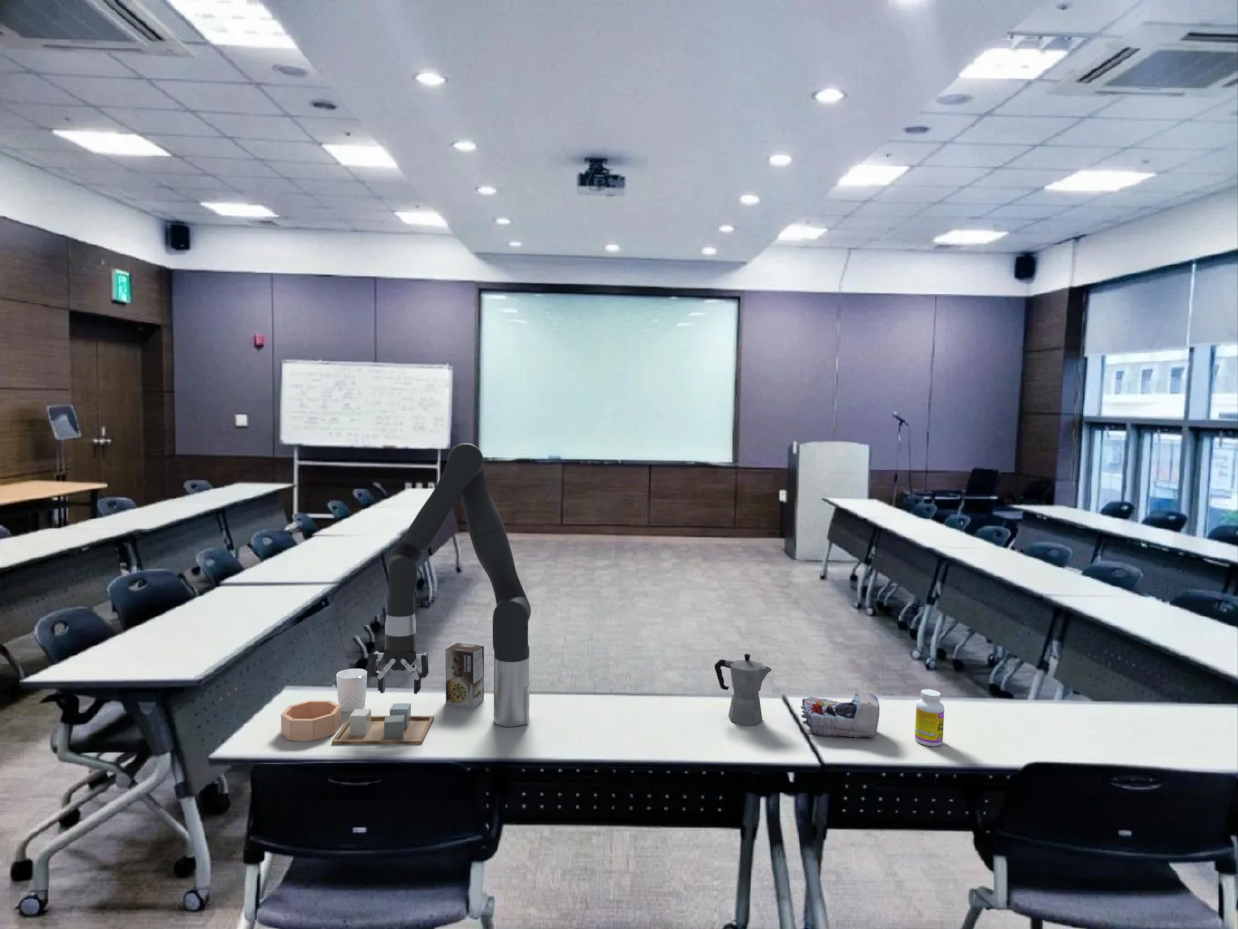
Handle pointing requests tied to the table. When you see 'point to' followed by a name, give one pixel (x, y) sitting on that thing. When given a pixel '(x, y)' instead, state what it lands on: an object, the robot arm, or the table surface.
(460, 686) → the coffee box
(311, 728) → the terracotta bowl
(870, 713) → the cell model
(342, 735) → the walnut tray
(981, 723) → the table surface
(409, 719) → the pale blue cube
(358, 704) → the white cup
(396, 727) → the medium grey cube
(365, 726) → the pale grey cube
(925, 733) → the supplement bottle
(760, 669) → the coffeepot
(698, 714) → the table surface
